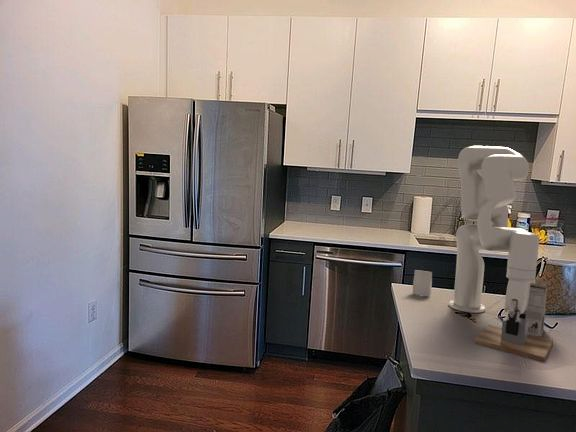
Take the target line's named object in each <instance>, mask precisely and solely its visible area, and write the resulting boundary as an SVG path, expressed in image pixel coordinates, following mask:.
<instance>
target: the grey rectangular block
mask: <svg viewBox="0 0 576 432" xmlns="http://www.w3.org/2000/svg"><path fill="white" fill-rule="evenodd" d="M432 284H433V271H426V270H425V271H424V270H421V269H420V270H417V269H414V276H413V281H412V294H417V295H416V296H418V295H423V296H422V297H425V296H428V297H427V298H430V297H431V296H432ZM430 295H431V296H430Z"/></svg>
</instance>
